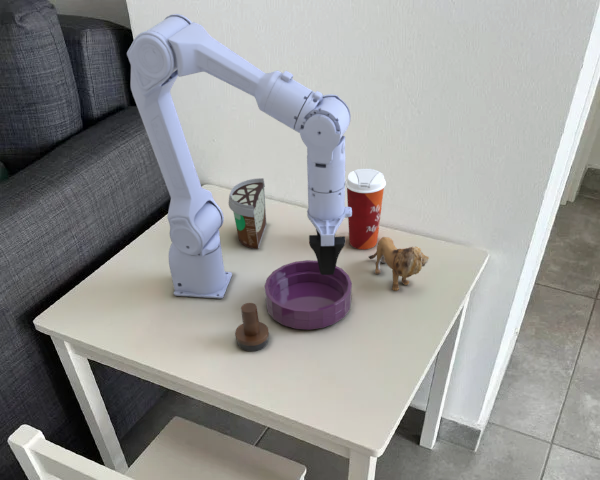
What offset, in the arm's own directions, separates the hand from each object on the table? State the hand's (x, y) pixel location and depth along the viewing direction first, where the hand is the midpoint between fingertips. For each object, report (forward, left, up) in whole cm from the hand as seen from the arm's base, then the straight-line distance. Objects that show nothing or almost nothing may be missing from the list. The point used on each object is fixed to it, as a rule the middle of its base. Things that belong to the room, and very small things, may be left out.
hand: (326, 260), depth 105 cm
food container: (-19, +22, -10) cm, 31 cm away
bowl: (-3, 0, -10) cm, 10 cm away
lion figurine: (+12, +10, -10) cm, 18 cm away
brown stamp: (-11, -11, -10) cm, 18 cm away
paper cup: (+5, +22, -10) cm, 25 cm away
